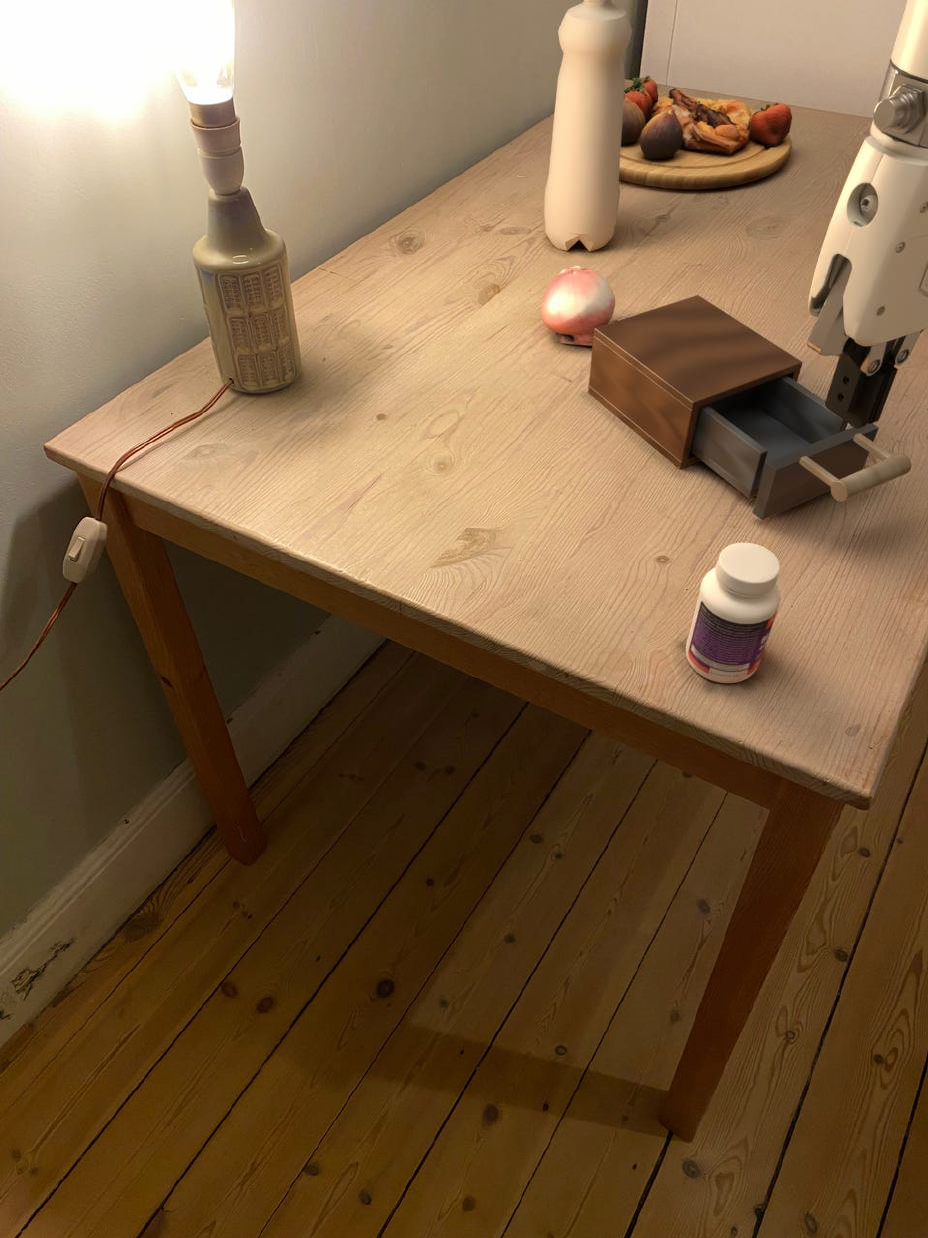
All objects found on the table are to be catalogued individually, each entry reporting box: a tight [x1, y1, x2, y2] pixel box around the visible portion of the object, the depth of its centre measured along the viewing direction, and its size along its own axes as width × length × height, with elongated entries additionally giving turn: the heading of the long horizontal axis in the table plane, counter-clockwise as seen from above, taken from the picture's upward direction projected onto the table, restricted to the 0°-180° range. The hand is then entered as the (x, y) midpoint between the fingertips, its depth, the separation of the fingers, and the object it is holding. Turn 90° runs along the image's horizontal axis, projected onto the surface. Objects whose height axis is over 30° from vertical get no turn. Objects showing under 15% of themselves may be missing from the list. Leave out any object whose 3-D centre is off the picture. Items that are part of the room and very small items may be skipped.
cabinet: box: [587, 294, 803, 470], centre depth 87 cm, size 15×13×7 cm
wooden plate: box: [619, 75, 793, 190], centre depth 132 cm, size 32×32×8 cm
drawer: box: [690, 375, 912, 521], centre depth 79 cm, size 19×11×6 cm, turn 30°
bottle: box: [543, 0, 633, 252], centre depth 104 cm, size 9×9×30 cm
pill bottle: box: [685, 542, 781, 684], centre depth 64 cm, size 5×5×10 cm
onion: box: [540, 265, 618, 347], centre depth 97 cm, size 8×8×7 cm
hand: (850, 414), depth 59 cm, fingers closed
